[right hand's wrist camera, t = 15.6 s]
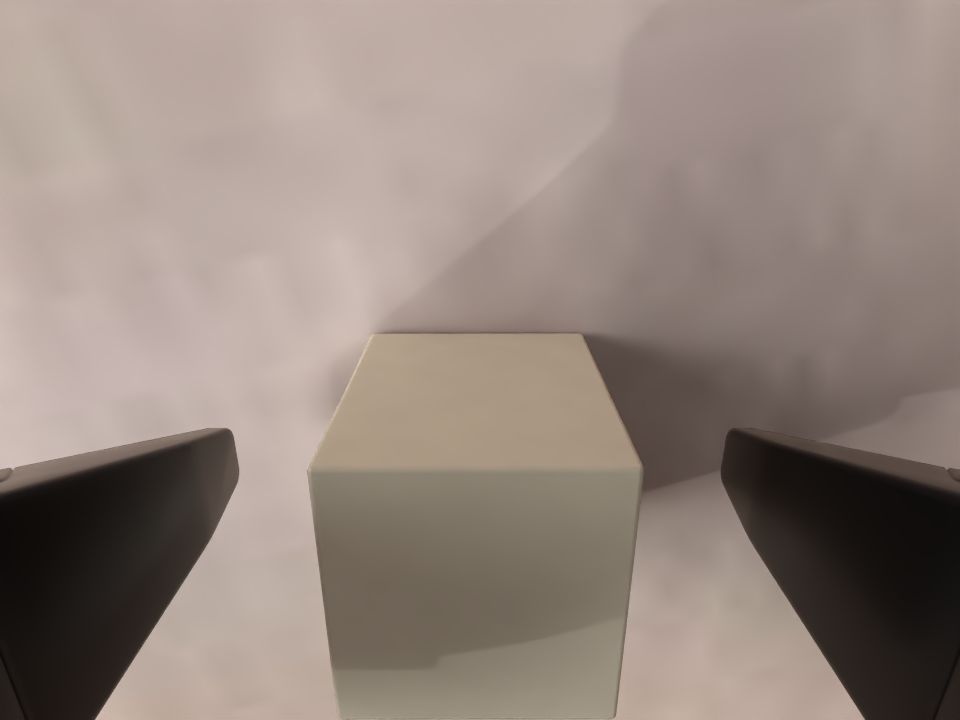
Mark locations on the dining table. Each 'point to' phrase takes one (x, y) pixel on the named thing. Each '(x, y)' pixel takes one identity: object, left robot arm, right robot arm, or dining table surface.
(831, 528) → the right robot arm
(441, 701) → the block
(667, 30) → the dining table surface
